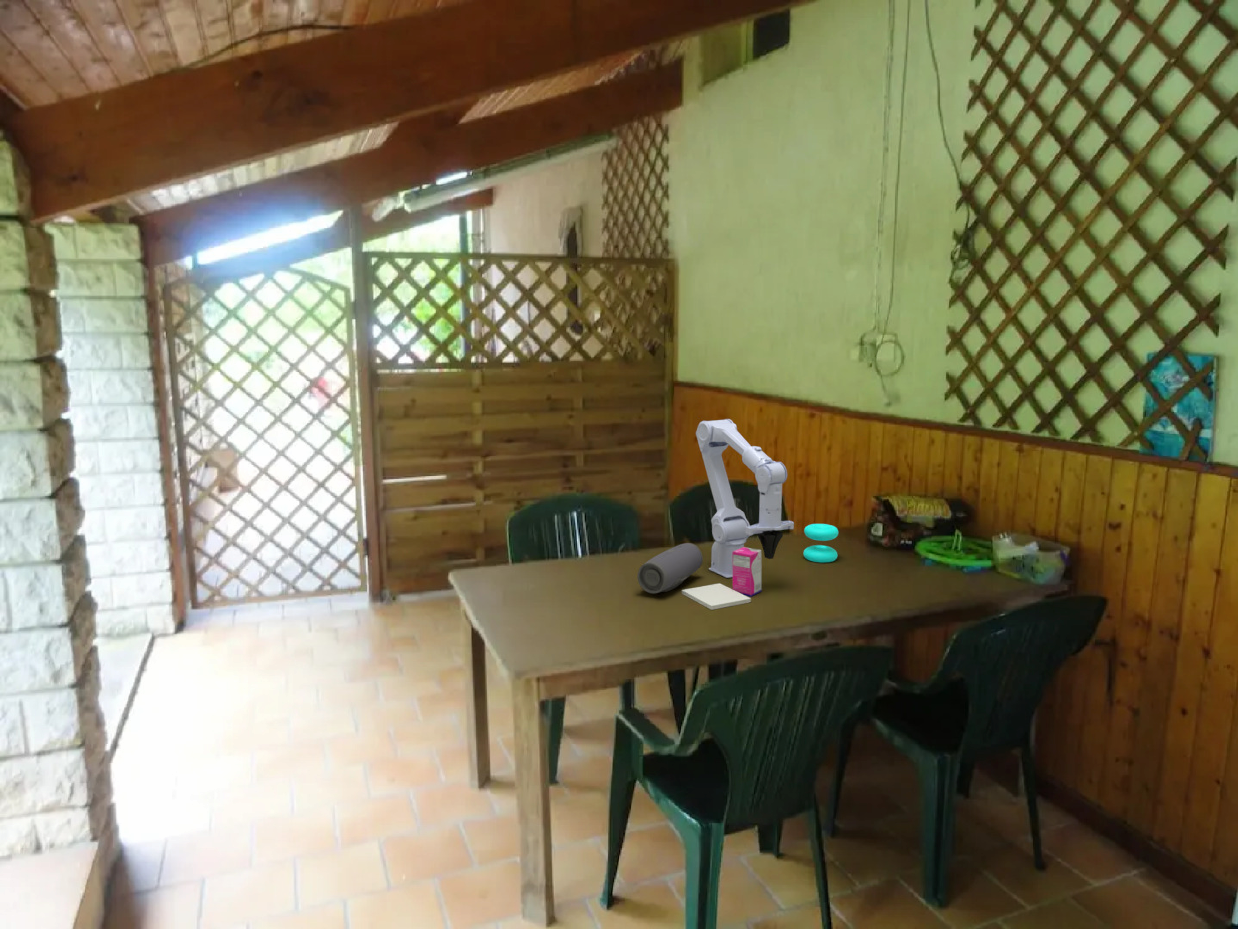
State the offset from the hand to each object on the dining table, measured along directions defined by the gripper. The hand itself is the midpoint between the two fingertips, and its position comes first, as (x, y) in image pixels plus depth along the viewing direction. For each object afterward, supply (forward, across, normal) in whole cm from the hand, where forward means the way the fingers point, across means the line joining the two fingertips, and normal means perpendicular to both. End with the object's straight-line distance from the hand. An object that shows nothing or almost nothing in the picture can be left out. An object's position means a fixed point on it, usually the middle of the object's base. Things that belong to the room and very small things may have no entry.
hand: (769, 557), depth 220 cm
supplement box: (+9, -7, 0) cm, 11 cm away
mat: (+8, -17, 0) cm, 19 cm away
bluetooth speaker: (+9, -22, +14) cm, 28 cm away
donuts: (+9, +31, +15) cm, 35 cm away
